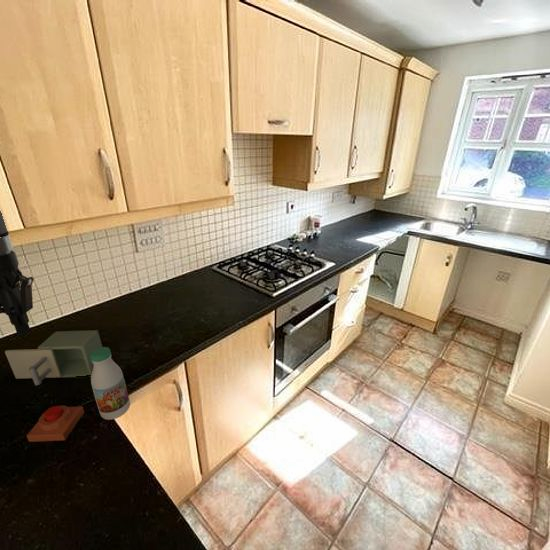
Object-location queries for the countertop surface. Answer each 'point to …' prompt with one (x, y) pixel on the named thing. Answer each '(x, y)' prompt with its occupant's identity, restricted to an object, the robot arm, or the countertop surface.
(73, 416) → the button box
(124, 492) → the countertop surface
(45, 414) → the button
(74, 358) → the cupboard
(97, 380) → the milk bottle
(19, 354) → the slide door
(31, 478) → the countertop surface
